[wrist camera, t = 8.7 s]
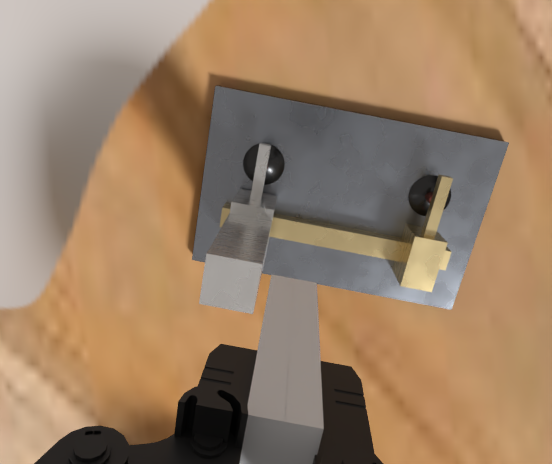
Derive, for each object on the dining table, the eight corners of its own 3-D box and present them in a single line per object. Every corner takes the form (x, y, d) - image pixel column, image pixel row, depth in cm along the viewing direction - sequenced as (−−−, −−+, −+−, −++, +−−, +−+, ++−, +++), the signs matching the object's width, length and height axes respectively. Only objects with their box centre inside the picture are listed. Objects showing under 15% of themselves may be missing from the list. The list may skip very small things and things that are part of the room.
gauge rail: (235, 131, 34) (229, 136, 31) (469, 177, 34) (485, 185, 31) (220, 236, 37) (212, 249, 34) (436, 278, 37) (448, 295, 34)
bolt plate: (217, 85, 34) (215, 85, 33) (504, 141, 34) (509, 142, 33) (194, 256, 38) (191, 260, 37) (448, 305, 38) (451, 310, 37)
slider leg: (247, 137, 34) (219, 164, 22) (287, 144, 34) (279, 175, 22) (230, 242, 37) (197, 316, 25) (267, 249, 37) (250, 326, 25)
